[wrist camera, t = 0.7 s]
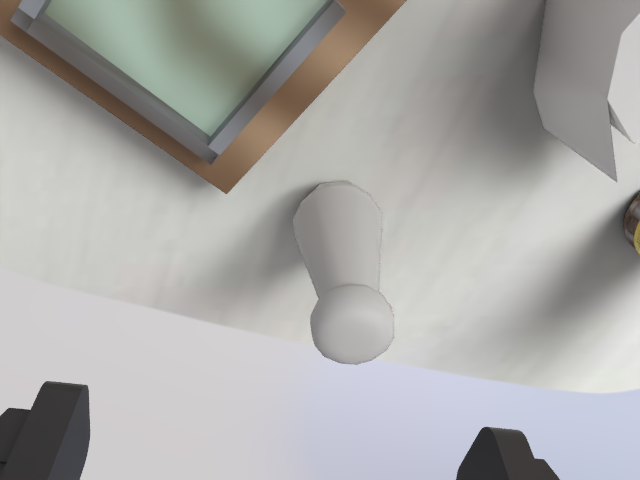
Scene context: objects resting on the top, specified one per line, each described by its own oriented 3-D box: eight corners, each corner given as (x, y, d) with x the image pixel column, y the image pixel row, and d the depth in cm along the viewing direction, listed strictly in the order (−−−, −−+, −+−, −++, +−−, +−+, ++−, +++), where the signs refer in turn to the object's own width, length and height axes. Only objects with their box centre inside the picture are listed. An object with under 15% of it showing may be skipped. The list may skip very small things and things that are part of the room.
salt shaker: (276, 217, 39) (273, 357, 29) (322, 152, 37) (338, 280, 26) (346, 253, 41) (367, 396, 31) (395, 194, 39) (436, 328, 28)
